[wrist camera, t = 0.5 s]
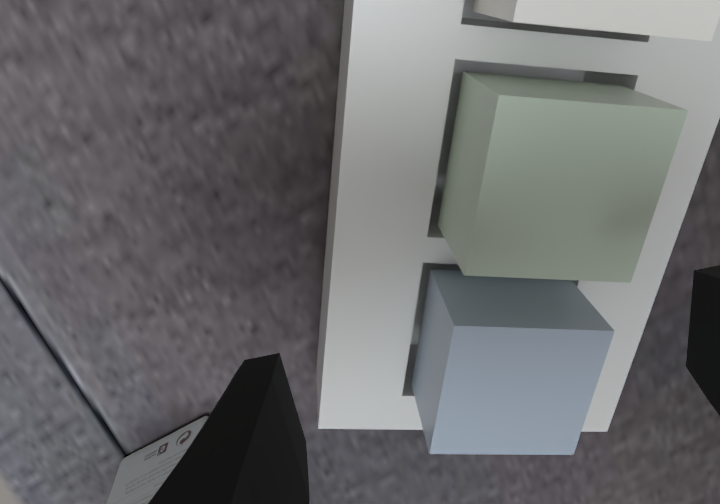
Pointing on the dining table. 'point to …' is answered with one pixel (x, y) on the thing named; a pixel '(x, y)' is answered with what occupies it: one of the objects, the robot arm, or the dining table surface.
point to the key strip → (427, 178)
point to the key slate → (506, 364)
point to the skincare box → (151, 466)
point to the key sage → (554, 177)
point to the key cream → (613, 15)
